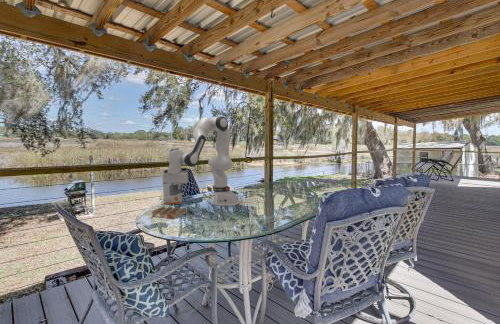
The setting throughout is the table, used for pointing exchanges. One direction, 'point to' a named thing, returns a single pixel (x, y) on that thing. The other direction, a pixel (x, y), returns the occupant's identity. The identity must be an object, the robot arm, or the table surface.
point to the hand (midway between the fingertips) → (176, 188)
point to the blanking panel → (175, 189)
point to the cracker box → (171, 198)
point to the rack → (168, 212)
